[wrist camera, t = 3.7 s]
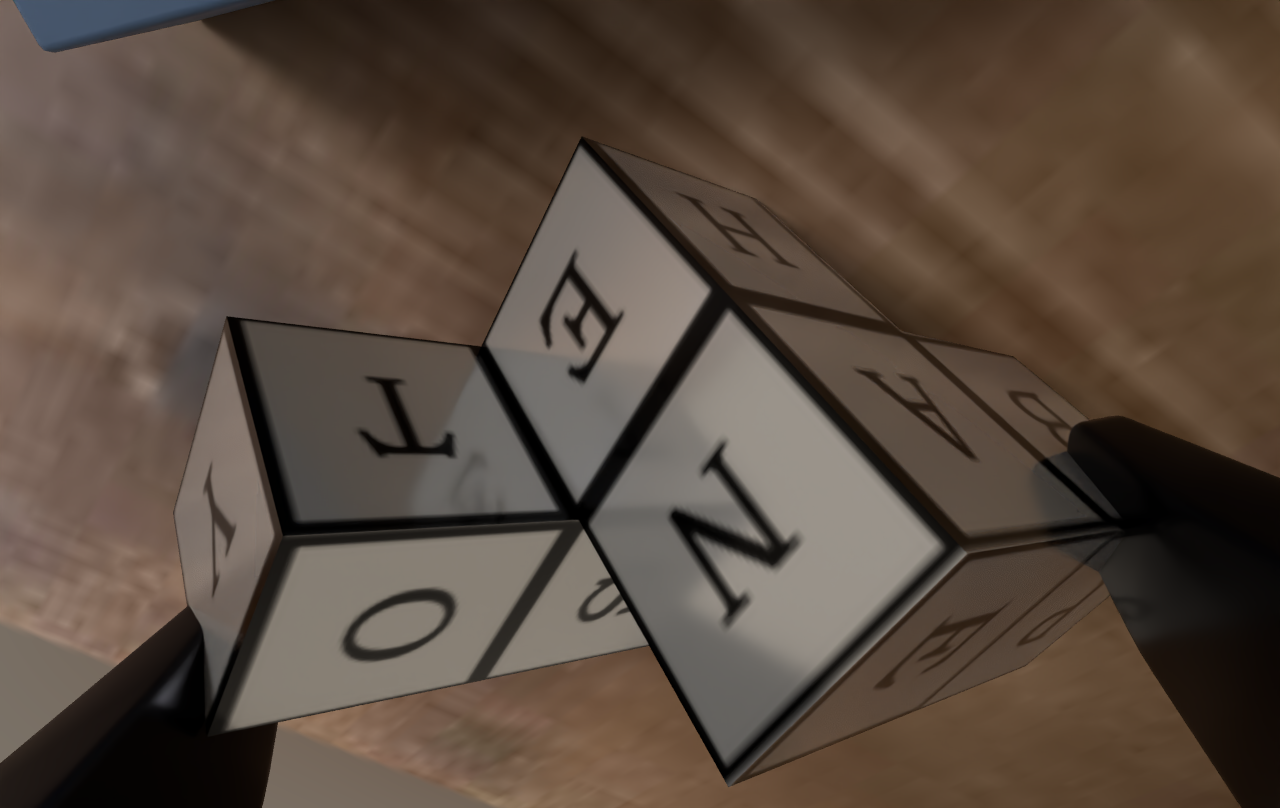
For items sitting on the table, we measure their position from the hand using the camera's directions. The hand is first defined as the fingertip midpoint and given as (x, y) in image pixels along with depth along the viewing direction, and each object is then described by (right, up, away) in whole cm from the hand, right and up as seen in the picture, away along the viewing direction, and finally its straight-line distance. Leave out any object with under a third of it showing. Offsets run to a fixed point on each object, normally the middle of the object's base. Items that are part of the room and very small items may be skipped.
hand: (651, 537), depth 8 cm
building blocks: (+1, +2, +3) cm, 3 cm away
